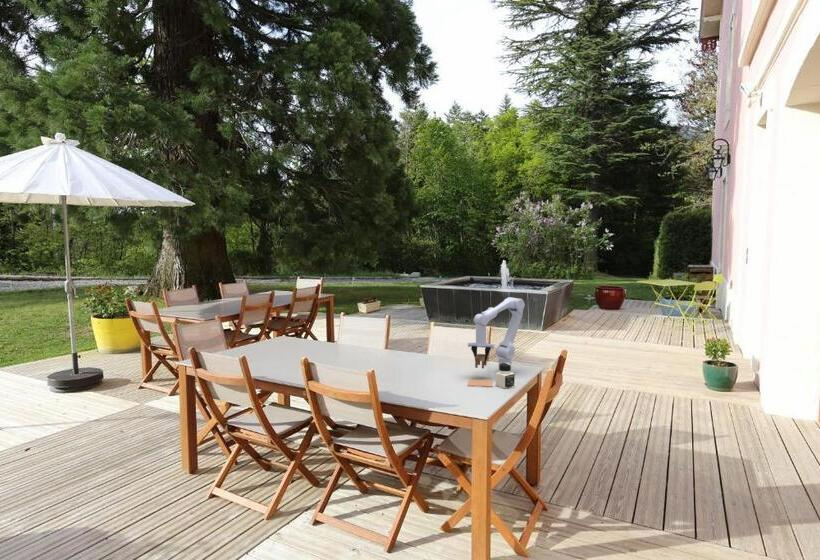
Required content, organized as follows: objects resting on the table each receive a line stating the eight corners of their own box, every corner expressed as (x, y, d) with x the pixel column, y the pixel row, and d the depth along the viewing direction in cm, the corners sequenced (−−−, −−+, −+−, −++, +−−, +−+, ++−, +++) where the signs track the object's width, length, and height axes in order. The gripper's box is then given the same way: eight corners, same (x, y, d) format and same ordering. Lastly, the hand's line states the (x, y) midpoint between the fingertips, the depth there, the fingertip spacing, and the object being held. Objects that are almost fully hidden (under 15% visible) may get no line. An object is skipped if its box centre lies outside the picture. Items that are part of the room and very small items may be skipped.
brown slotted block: (474, 367, 288) (475, 357, 288) (477, 364, 296) (478, 353, 295) (483, 368, 287) (484, 357, 286) (486, 365, 294) (487, 354, 294)
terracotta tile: (468, 380, 289) (468, 379, 289) (492, 381, 287) (492, 380, 287) (467, 386, 278) (467, 385, 278) (492, 387, 276) (492, 386, 276)
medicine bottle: (505, 389, 273) (505, 366, 272) (495, 385, 278) (495, 363, 277) (514, 386, 277) (514, 364, 276) (504, 383, 283) (504, 361, 281)
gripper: (466, 336, 288) (466, 360, 290) (492, 338, 283) (492, 362, 285) (469, 334, 295) (469, 357, 296) (495, 335, 290) (495, 359, 291)
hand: (481, 360), depth 291 cm, fingers closed on brown slotted block, 5 cm apart
